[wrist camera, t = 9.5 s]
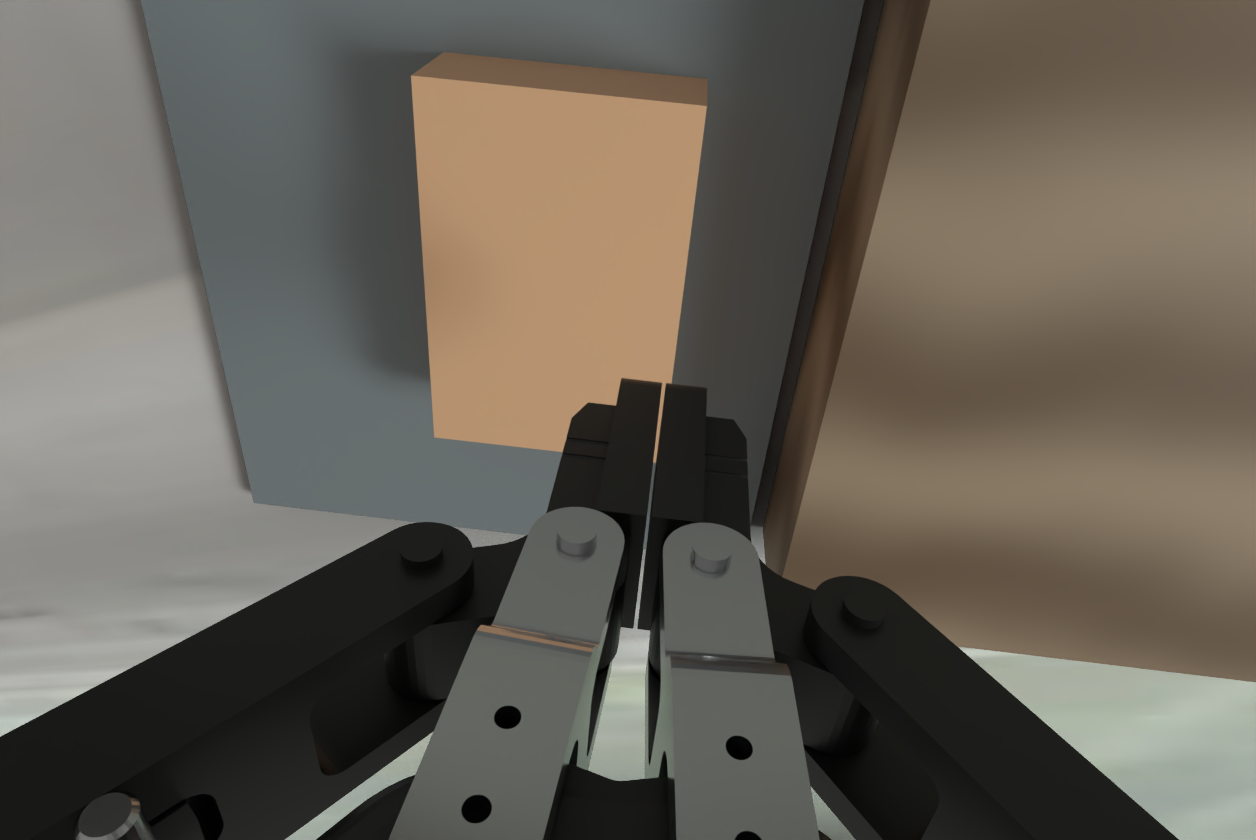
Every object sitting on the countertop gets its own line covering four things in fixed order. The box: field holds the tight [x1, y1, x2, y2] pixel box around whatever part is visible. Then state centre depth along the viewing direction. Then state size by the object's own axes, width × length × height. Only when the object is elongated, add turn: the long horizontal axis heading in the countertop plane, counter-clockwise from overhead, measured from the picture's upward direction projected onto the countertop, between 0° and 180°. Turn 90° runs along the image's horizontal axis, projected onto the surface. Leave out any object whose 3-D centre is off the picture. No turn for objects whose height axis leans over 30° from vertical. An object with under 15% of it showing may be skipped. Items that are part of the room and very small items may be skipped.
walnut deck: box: [763, 0, 1256, 682], centre depth 20 cm, size 18×14×4 cm
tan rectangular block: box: [411, 52, 708, 463], centre depth 20 cm, size 9×6×2 cm, turn 175°
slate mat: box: [141, 0, 864, 549], centre depth 21 cm, size 20×16×1 cm
